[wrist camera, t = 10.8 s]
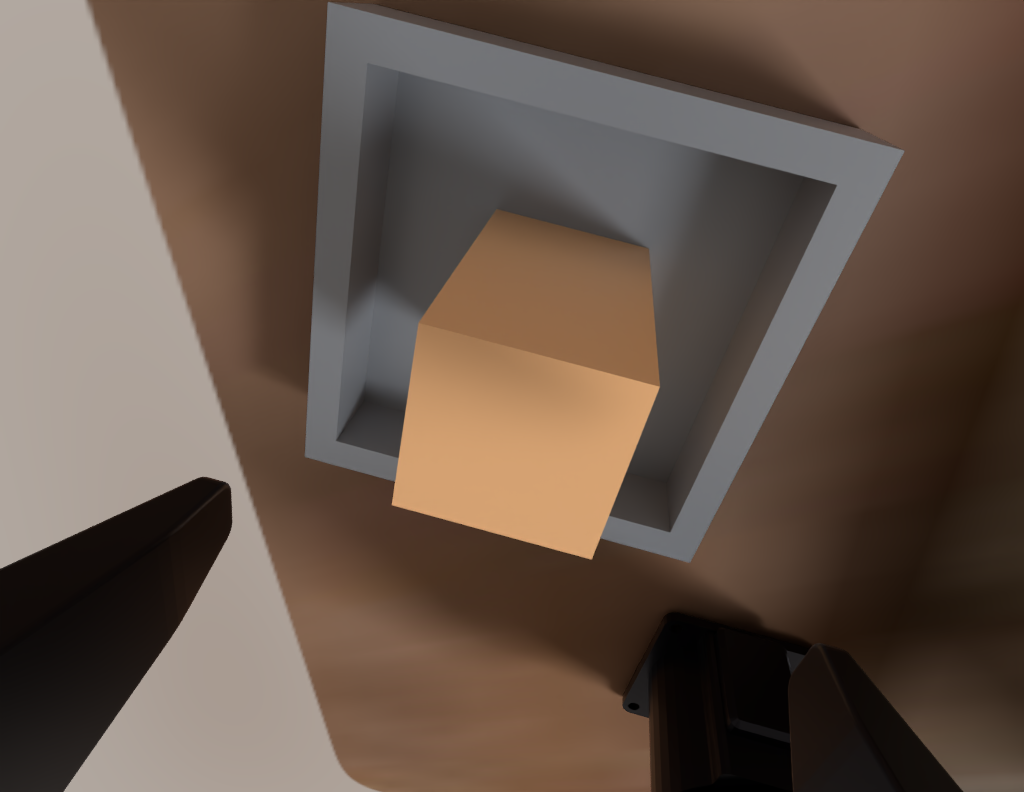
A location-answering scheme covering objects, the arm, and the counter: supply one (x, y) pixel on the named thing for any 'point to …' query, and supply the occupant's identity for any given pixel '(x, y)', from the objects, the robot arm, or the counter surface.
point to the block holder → (581, 206)
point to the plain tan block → (531, 385)
